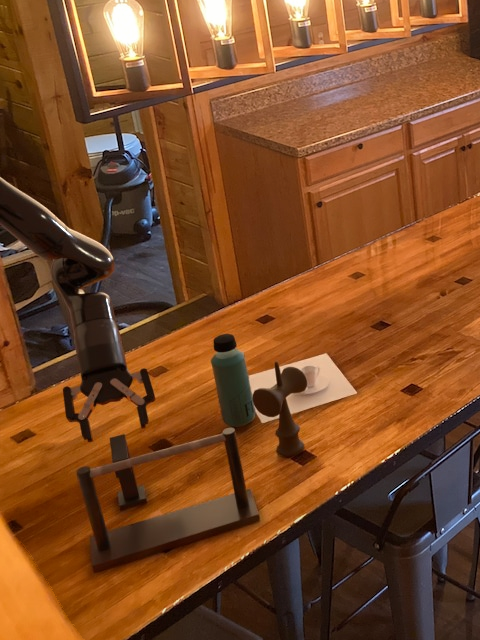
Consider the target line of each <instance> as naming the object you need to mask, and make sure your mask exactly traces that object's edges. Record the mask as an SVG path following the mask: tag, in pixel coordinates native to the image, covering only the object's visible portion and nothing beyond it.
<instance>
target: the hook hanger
mask: <svg viewBox="0 0 480 640" xmlns="http://www.w3.org/2000/svg"><path fill="white" fill-rule="evenodd" d="M109 444H110V454H111V462H112V463H115V462H118V461H122V460H126V459H130V458H131V455H130V450H129V447H128V442H127V437H126V434H125V433H123V434H118V435H116V436H112V437H109ZM114 474H115V478H116V479H118V480H119V484H120V488H121V491H120V490H119V491H117V493H116V494H117V502H118V508H119V511H123V510H126V509H127V510H128V509H131V508H134V507H137V506H141V505H144V504H147V503H148V499H147V493H146V488H145V484H141V485H138V482H137V479H136V473H135V469H134V466H133V467H130V468H126V469H122V470H119V471H115V472H114Z"/></svg>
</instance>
